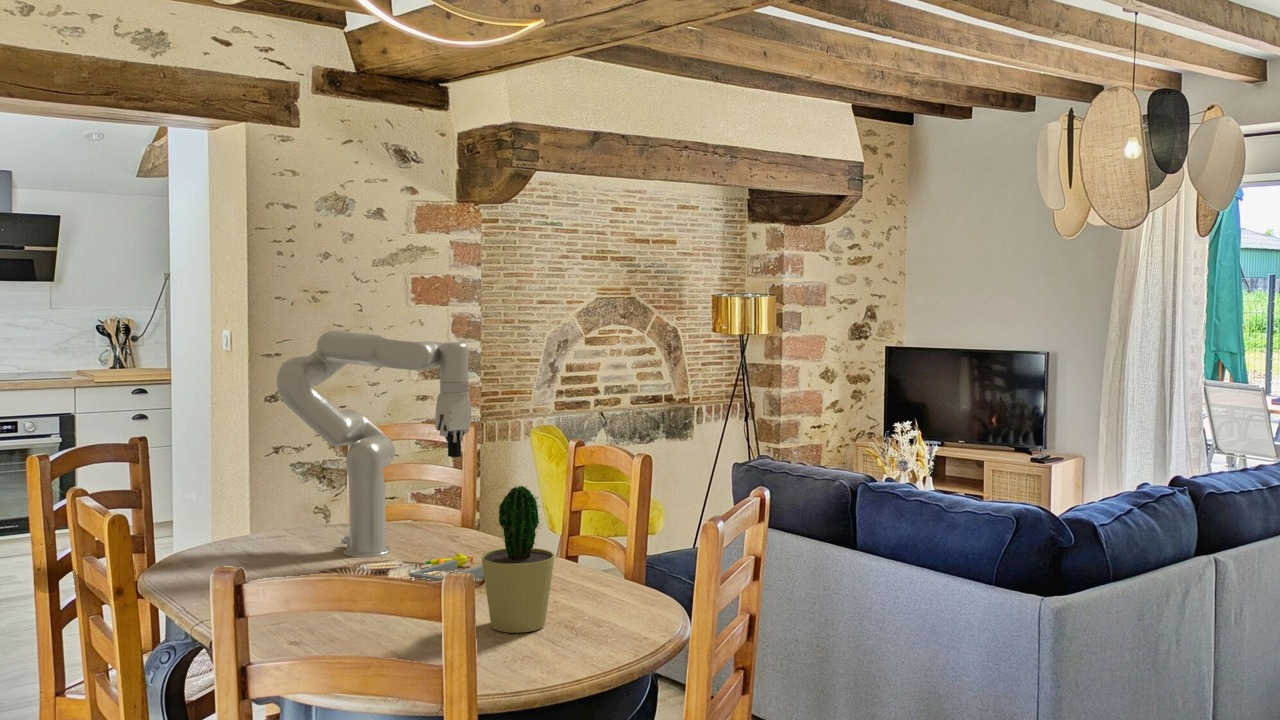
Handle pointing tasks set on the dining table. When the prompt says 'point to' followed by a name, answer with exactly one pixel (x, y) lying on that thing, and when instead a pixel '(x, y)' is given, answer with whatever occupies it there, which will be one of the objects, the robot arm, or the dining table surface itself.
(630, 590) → the dining table surface
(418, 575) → the u rest
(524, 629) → the potted cactus
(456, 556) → the toy figure
